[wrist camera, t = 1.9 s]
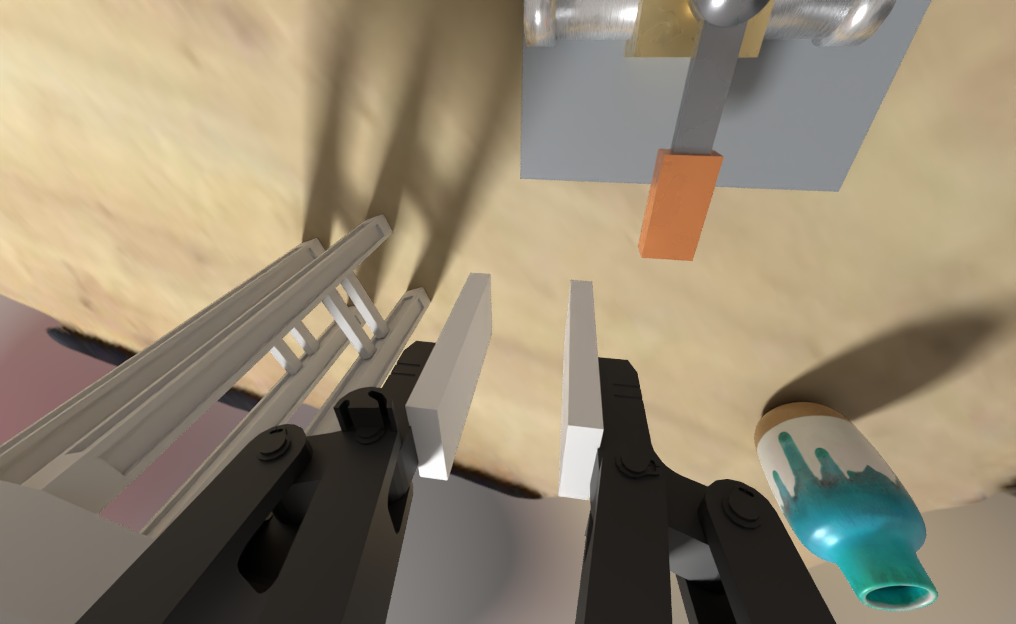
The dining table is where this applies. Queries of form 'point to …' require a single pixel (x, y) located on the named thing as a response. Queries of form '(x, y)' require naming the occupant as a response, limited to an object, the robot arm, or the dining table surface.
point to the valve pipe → (672, 28)
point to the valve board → (745, 118)
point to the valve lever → (695, 133)
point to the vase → (845, 503)
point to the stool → (179, 420)
